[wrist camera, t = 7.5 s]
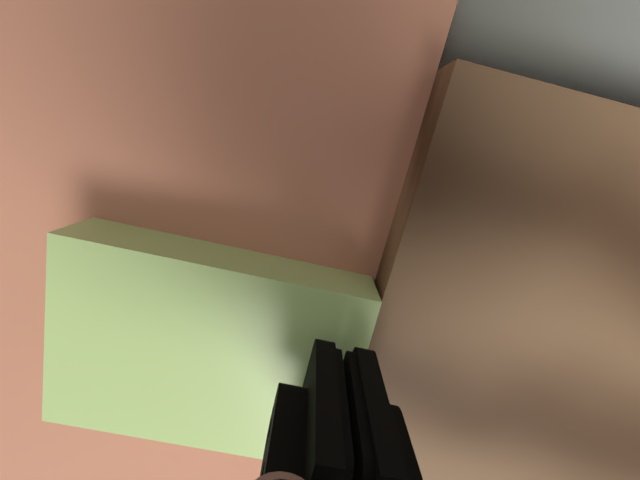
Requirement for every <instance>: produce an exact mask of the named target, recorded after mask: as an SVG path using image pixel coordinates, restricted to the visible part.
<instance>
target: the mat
mask: <svg viewBox="0 0 640 480" xmlns="http://www.w3.org/2000/svg"><path fill="white" fill-rule="evenodd" d="M457 2H458V0H0V480H256V479H257V478H258V477H260V472H261V466H262V461H263V460H262V459H256V458H251V457H245V456H239V455H234V454H228V453H222V452H216V451H211V450H205V449H199V448H194V447H188V446H182V445H177V444H171V443H165V442H160V441H154V440H148V439H142V438H137V437H131V436H125V435H120V434H114V433H108V432H103V431H97V430H91V429H85V428H80V427H74V426H68V425H63V424H57V423H51V422H46V421H42V396H43V360H44V324H45V288H46V251H47V232H50V231H53V230H56V229H59V228H62V227H65V226H68V225H71V224H74V223H77V222H80V221H83V220H86V219H89V218H92V217H95V218H100V219H105V220H109V221H114V222H119V223H124V224H128V225H133V226H138V227H142V228H147V229H152V230H157V231H161V232H166V233H171V234H176V235H180V236H185V237H190V238H194V239H199V240H204V241H209V242H213V243H218V244H223V245H227V246H232V247H237V248H242V249H246V250H251V251H256V252H261V253H265V254H270V255H275V256H279V257H284V258H289V259H294V260H298V261H303V262H308V263H312V264H317V265H322V266H327V267H331V268H336V269H341V270H346V271H350V272H355V273H360V274H364V275H369V276H372V278H373V281H375V278H376V274H377V271H378V268H379V264H380V261H381V258H382V254H383V251H384V248H385V244H386V241H387V238H388V234H389V231H390V227H391V224H392V221H393V217H394V214H395V211H396V207H397V204H398V201H399V197H400V194H401V191H402V187H403V184H404V180H405V177H406V174H407V170H408V167H409V164H410V160H411V157H412V154H413V150H414V147H415V144H416V140H417V137H418V133H419V130H420V127H421V123H422V120H423V117H424V113H425V110H426V107H427V103H428V100H429V96H430V93H431V90H432V86H433V83H434V80H435V76H436V73H437V70H438V66H439V63H440V60H441V56H442V53H443V49H444V46H445V43H446V39H447V36H448V33H449V29H450V26H451V23H452V19H453V16H454V13H455V9H456V6H457Z"/></svg>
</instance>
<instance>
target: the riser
mask: <svg viewBox="0 0 640 480" xmlns="http://www.w3.org/2000/svg"><path fill="white" fill-rule="evenodd" d="M374 283H375V286H376V289H377V291H378V294H379V296H380V299H381V301H382V304H381V307H380V310H379V314H378V317H377V321H376V324H375V327H374V331H373V334H372V338H371V341H370V344H369V348H368V350H373V351H375V352H376V355H377V359H378V363H379V366H380V370H381V374H382V377H383V381H384V385H385V388H386V392H387V396H388V399H389V403H390V404H391V405H397V406H399V407H400V409H401V411H402V414H403V417H404V420H405V423H406V427H407V430H408V433H409V436H410V439H411V443H412V446H413V449H414V452H415V456H416V459H417V462H418V465H419V468H420V472H421V475H422V478H423V480H640V108H639V107H635V106H632V105H628V104H624V103H621V102H617V101H613V100H609V99H606V98H602V97H598V96H595V95H591V94H587V93H584V92H580V91H576V90H572V89H569V88H565V87H561V86H558V85H554V84H550V83H547V82H543V81H539V80H535V79H532V78H528V77H524V76H521V75H517V74H513V73H510V72H506V71H502V70H498V69H495V68H491V67H487V66H484V65H480V64H476V63H473V62H469V61H465V60H461V59H458V58H457V59H455V60H453V61H452V62H450V63H448V64H447V65H445V66H443V67H442V68H440V69H439V70H437V73H436V76H435V80H434V83H433V86H432V90H431V93H430V96H429V100H428V103H427V107H426V110H425V113H424V117H423V120H422V123H421V127H420V130H419V133H418V137H417V140H416V144H415V147H414V150H413V154H412V157H411V160H410V164H409V167H408V170H407V174H406V177H405V180H404V184H403V187H402V191H401V194H400V197H399V201H398V204H397V207H396V211H395V214H394V217H393V221H392V224H391V227H390V231H389V234H388V238H387V241H386V244H385V248H384V251H383V254H382V258H381V261H380V264H379V268H378V271H377V274H376V278H375V281H374Z"/></svg>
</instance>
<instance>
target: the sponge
mask: <svg viewBox="0 0 640 480" xmlns="http://www.w3.org/2000/svg"><path fill="white" fill-rule="evenodd" d="M381 304H382V301H381V299H380V296H379V294H378V291H377V289H376V286H375V283H374V281H373V278H372V276H369V275H364V274H360V273H355V272H350V271H346V270H341V269H336V268H331V267H327V266H322V265H317V264H312V263H308V262H303V261H298V260H294V259H289V258H284V257H279V256H275V255H270V254H265V253H261V252H256V251H251V250H246V249H242V248H237V247H232V246H227V245H223V244H218V243H213V242H209V241H204V240H199V239H194V238H190V237H185V236H180V235H176V234H171V233H166V232H161V231H157V230H152V229H147V228H142V227H138V226H133V225H128V224H124V223H119V222H114V221H109V220H105V219H100V218H95V217H92V218H89V219H86V220H83V221H80V222H77V223H74V224H71V225H68V226H65V227H62V228H59V229H56V230H53V231H50V232H47V251H46V288H45V324H44V360H43V396H42V421H46V422H51V423H57V424H63V425H68V426H74V427H80V428H85V429H91V430H97V431H103V432H108V433H114V434H120V435H125V436H131V437H137V438H142V439H148V440H154V441H160V442H165V443H171V444H177V445H182V446H188V447H194V448H199V449H205V450H211V451H216V452H222V453H228V454H234V455H239V456H245V457H251V458H256V459H262V460H263V455H264V449H265V444H266V438H267V433H268V428H269V423H270V418H271V414H272V409H273V405H274V400H275V396H276V392H277V388H278V384H279V383H284V384H290V385H295V386H300V387H303V383H304V379H305V375H306V371H307V367H308V363H309V359H310V356H311V352H312V348H313V344H314V341H315V339H320V340H325V341H329V342H334V343H335V345H336V348H337V349H341V350H342V356H343V359H344V356H345V353H346V351H353V349H354V348H355V347H359V348H364V349H368V348H369V344H370V341H371V338H372V334H373V331H374V327H375V324H376V321H377V317H378V314H379V310H380V307H381Z"/></svg>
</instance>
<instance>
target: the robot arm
mask: <svg viewBox="0 0 640 480" xmlns="http://www.w3.org/2000/svg"><path fill="white" fill-rule="evenodd" d="M256 480H423V478H422V475H421V472H420V468H419V465H418V462H417V459H416V456H415V452H414V449H413V446H412V443H411V439H410V436H409V433H408V430H407V427H406V423H405V420H404V417H403V414H402V411H401V409H400V407H399V406H397V405H391V404H390V403H389V399H388V396H387V392H386V388H385V385H384V381H383V377H382V374H381V370H380V366H379V363H378V359H377V355H376V352H375V351H373V350H368V349H364V348H359V347H355V348H354V349H353V351H346V353H345V356H344V359H343V356H342V350H341V349H337V348H336V345H335V343H334V342H329V341H325V340H320V339H315V341H314V344H313V348H312V352H311V356H310V359H309V363H308V367H307V371H306V375H305V379H304V383H303V387H300V386H295V385H290V384H284V383H279V384H278V388H277V392H276V396H275V400H274V405H273V409H272V414H271V418H270V423H269V428H268V433H267V438H266V444H265V449H264V455H263V461H262V466H261V472H260V477H258V478H257V479H256Z"/></svg>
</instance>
